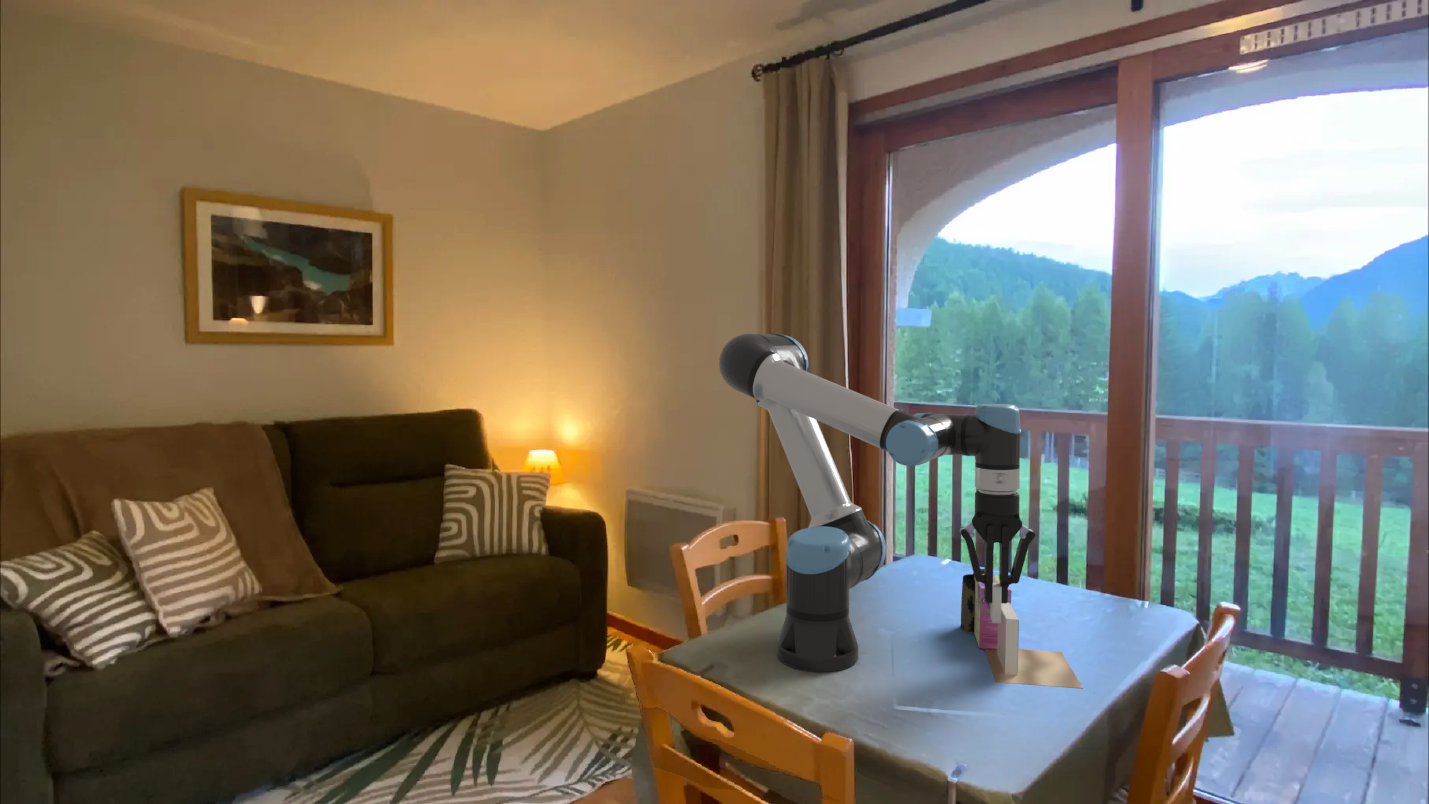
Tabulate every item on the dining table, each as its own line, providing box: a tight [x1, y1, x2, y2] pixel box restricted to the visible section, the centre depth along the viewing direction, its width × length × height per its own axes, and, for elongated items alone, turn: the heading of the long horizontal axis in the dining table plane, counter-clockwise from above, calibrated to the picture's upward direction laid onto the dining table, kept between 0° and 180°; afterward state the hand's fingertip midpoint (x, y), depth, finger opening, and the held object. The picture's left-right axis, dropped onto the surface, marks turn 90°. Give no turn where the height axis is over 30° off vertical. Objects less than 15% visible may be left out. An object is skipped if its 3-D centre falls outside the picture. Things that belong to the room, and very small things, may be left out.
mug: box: [960, 568, 984, 635], centre depth 163 cm, size 8×6×12 cm
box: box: [974, 574, 1012, 650], centre depth 156 cm, size 10×6×12 cm, turn 168°
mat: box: [984, 648, 1084, 689], centre depth 144 cm, size 14×16×1 cm
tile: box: [997, 603, 1020, 675], centre depth 144 cm, size 2×9×10 cm, turn 169°
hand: (995, 620), depth 144 cm, fingers closed
